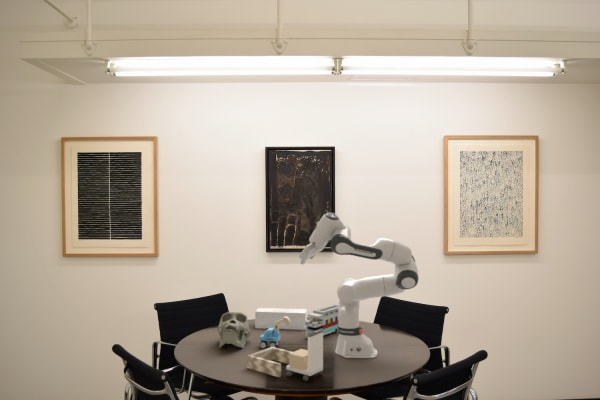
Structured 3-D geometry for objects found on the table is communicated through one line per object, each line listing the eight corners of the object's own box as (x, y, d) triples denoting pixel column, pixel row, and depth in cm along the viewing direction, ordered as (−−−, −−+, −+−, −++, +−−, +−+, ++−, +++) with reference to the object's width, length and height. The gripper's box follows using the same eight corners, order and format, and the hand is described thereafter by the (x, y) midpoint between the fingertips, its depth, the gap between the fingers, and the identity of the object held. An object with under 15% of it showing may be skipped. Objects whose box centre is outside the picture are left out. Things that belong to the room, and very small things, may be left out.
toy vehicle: (304, 338, 284) (304, 312, 284) (334, 327, 308) (334, 304, 308) (315, 340, 279) (315, 315, 279) (344, 329, 303) (344, 306, 302)
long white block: (307, 325, 313) (307, 309, 313) (305, 330, 302) (305, 313, 302) (258, 324, 317) (258, 307, 317) (255, 328, 306) (255, 311, 306)
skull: (217, 354, 278) (210, 340, 254) (223, 318, 289) (216, 302, 265) (249, 356, 277) (245, 343, 253) (254, 320, 288) (250, 305, 264)
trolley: (324, 374, 225) (324, 328, 225) (309, 382, 216) (309, 334, 215) (300, 368, 234) (300, 323, 234) (284, 375, 224) (284, 328, 224)
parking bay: (302, 366, 237) (302, 354, 237) (278, 377, 222) (278, 364, 222) (271, 358, 249) (271, 346, 249) (247, 367, 235) (247, 355, 235)
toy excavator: (287, 350, 261) (287, 319, 261) (258, 348, 265) (258, 317, 265) (291, 345, 270) (291, 315, 270) (262, 344, 273) (262, 313, 273)
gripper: (313, 249, 233) (301, 270, 239) (331, 238, 250) (320, 258, 256) (303, 242, 235) (291, 263, 241) (322, 231, 252) (311, 251, 258)
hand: (306, 260), depth 249 cm, fingers open, 8 cm apart
